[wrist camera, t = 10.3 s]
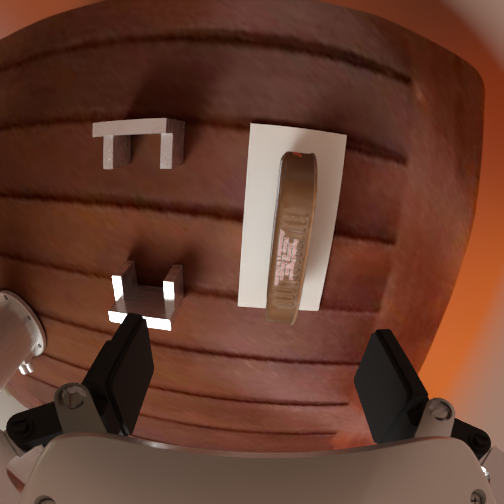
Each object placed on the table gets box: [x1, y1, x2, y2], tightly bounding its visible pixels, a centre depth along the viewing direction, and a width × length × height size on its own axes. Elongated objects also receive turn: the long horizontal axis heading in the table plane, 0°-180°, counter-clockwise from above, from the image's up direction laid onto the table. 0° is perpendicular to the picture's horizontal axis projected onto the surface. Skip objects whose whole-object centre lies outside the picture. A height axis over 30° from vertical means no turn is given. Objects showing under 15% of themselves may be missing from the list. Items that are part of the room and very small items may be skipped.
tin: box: [265, 151, 318, 325], centre depth 24 cm, size 15×3×8 cm, turn 175°
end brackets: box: [93, 118, 185, 330], centre depth 26 cm, size 7×19×6 cm, turn 176°
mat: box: [238, 123, 347, 311], centre depth 28 cm, size 19×9×1 cm, turn 175°
